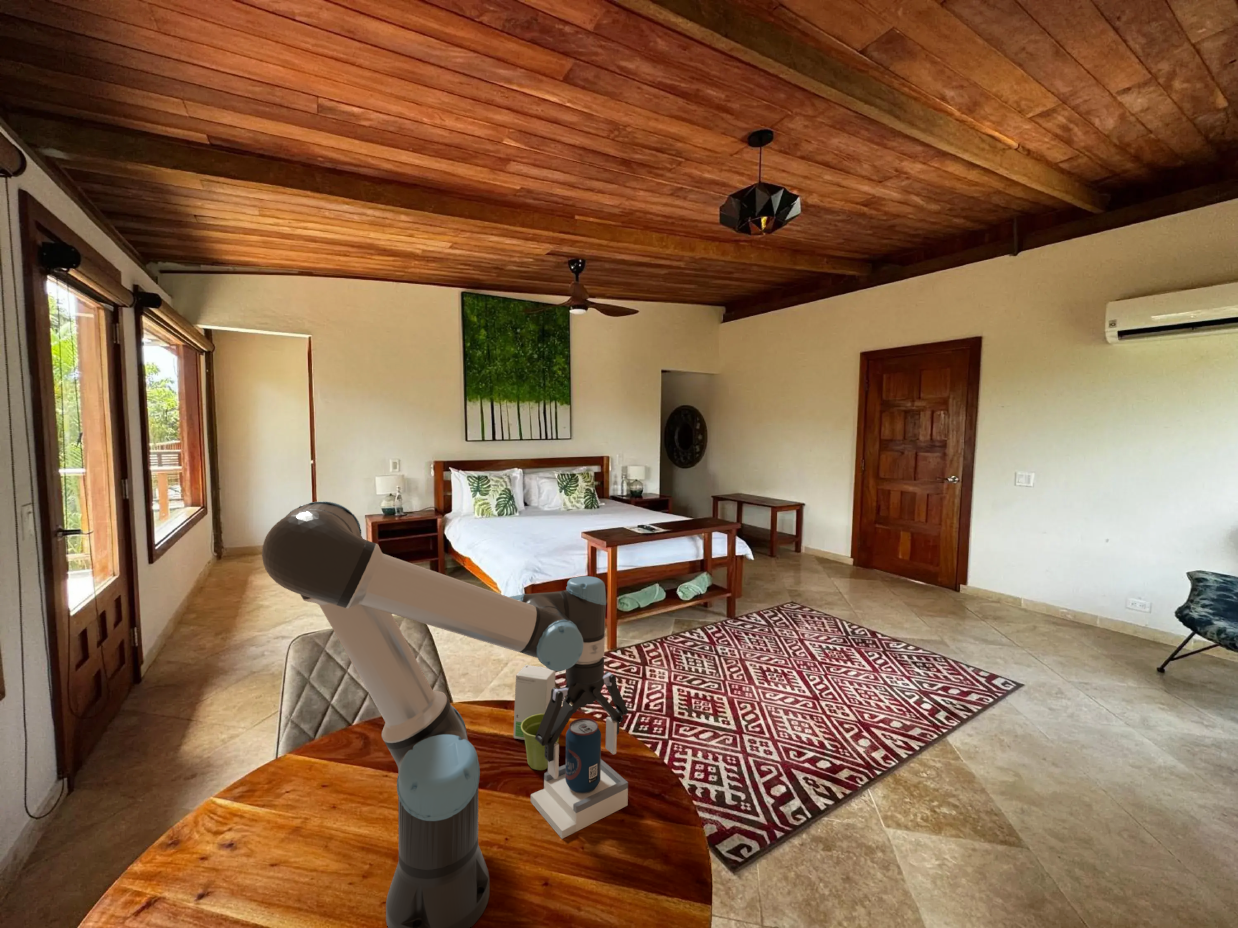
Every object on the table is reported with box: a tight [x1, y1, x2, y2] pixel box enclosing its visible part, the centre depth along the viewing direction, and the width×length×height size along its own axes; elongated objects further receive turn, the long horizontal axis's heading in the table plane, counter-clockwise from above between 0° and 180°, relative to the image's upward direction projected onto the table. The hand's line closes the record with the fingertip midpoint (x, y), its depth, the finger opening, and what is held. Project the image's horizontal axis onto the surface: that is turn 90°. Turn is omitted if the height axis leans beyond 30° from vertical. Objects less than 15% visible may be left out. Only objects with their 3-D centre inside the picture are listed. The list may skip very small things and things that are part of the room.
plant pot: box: [521, 713, 560, 771], centre depth 117 cm, size 9×9×9 cm
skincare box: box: [513, 664, 557, 741], centre depth 128 cm, size 8×7×16 cm
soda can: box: [565, 717, 602, 794], centre depth 105 cm, size 7×7×12 cm
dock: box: [530, 758, 629, 840], centre depth 104 cm, size 15×12×5 cm
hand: (583, 762), depth 105 cm, fingers open, 13 cm apart
